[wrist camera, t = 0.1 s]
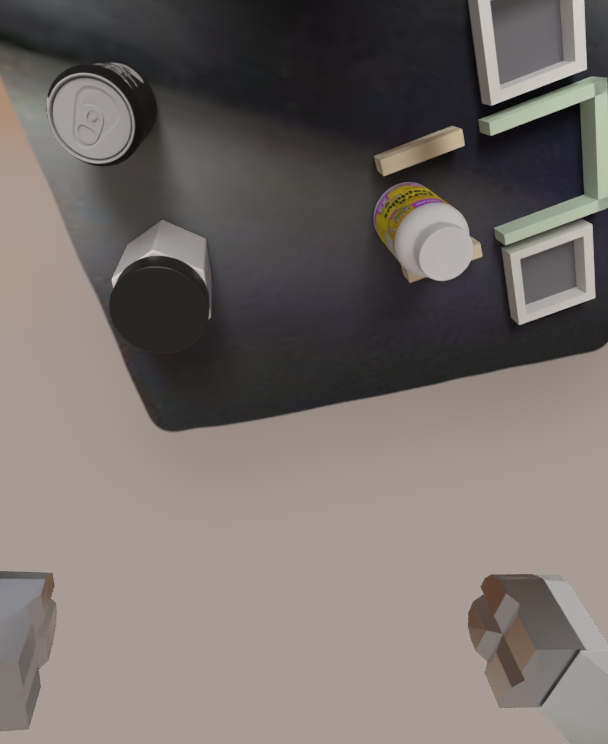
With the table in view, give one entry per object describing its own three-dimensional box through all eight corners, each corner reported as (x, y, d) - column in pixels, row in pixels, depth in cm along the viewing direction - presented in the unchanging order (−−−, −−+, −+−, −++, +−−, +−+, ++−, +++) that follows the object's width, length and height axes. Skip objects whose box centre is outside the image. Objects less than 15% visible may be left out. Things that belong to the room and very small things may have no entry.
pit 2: (510, 317, 64) (519, 325, 62) (500, 247, 59) (509, 254, 58) (584, 290, 64) (595, 297, 62) (580, 218, 59) (592, 223, 57)
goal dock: (495, 238, 59) (505, 245, 57) (478, 119, 52) (489, 122, 50) (595, 201, 58) (610, 207, 56) (591, 76, 52) (607, 77, 49)
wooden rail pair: (403, 274, 60) (409, 282, 57) (373, 155, 53) (379, 160, 51) (473, 248, 59) (482, 256, 57) (452, 125, 52) (462, 129, 50)
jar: (114, 280, 56) (90, 333, 45) (140, 207, 52) (121, 247, 42) (197, 313, 59) (192, 369, 48) (227, 245, 55) (229, 291, 45)
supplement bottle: (422, 168, 54) (474, 199, 43) (442, 226, 57) (495, 269, 46) (361, 200, 55) (396, 238, 44) (384, 256, 58) (423, 305, 47)
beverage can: (170, 91, 48) (157, 105, 37) (137, 158, 50) (116, 188, 40) (97, 43, 45) (62, 42, 35) (66, 115, 48) (25, 135, 37)
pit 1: (481, 103, 52) (491, 105, 50) (466, -7, 47) (476, -9, 45) (573, 68, 51) (586, 69, 49) (567, -47, 46) (582, -51, 44)
